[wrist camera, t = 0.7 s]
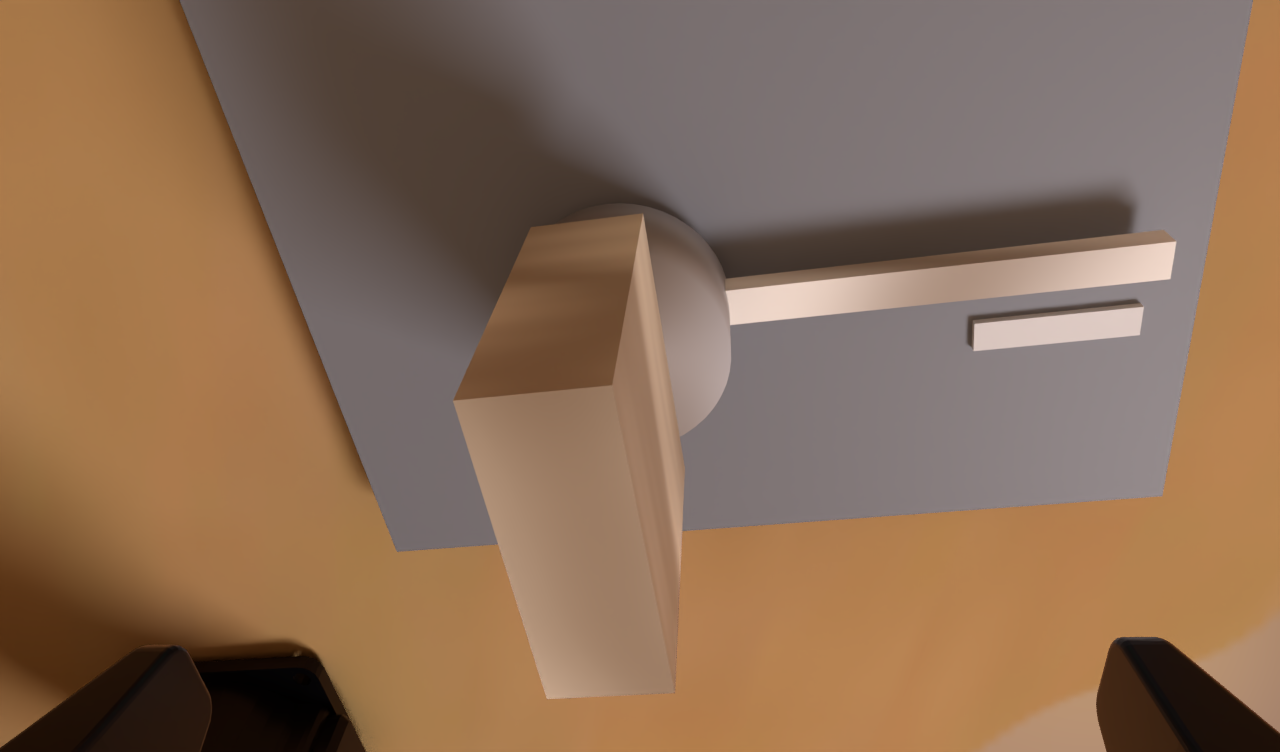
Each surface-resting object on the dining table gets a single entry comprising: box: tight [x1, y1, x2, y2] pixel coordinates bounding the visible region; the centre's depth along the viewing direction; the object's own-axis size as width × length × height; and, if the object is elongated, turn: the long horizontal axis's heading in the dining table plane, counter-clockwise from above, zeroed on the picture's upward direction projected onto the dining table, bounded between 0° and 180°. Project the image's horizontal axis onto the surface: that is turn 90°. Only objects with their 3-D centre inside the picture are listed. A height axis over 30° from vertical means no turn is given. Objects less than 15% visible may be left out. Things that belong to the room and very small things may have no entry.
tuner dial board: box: [180, 0, 1253, 552], centre depth 16 cm, size 17×19×2 cm
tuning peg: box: [453, 203, 1176, 699], centre depth 14 cm, size 12×5×7 cm, turn 99°
